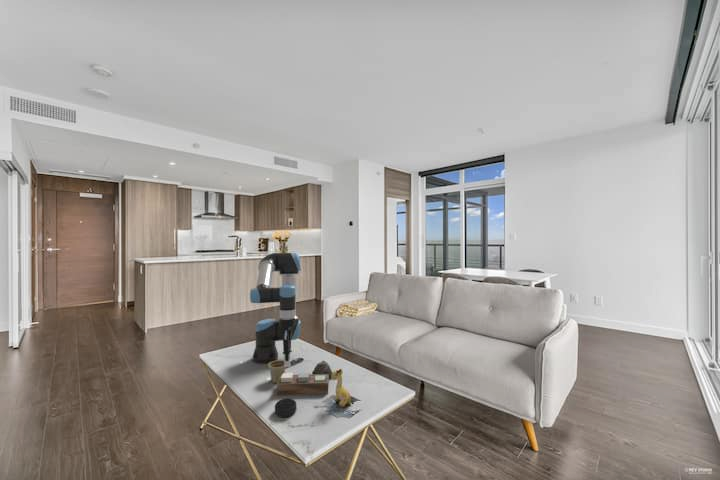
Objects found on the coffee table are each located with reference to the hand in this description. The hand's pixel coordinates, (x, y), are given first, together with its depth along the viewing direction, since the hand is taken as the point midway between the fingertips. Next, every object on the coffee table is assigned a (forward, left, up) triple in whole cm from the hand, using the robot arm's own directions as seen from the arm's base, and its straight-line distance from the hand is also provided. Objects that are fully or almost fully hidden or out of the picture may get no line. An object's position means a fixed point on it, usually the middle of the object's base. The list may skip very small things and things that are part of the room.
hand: (287, 366), depth 150 cm
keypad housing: (0, +8, -11) cm, 14 cm away
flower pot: (-11, -7, -12) cm, 17 cm away
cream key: (0, 0, -7) cm, 7 cm away
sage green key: (0, +16, -9) cm, 18 cm away
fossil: (-13, +16, -12) cm, 24 cm away
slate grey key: (0, +8, -7) cm, 11 cm away
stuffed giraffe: (+15, +26, -12) cm, 33 cm away
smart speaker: (+19, +2, -12) cm, 23 cm away
